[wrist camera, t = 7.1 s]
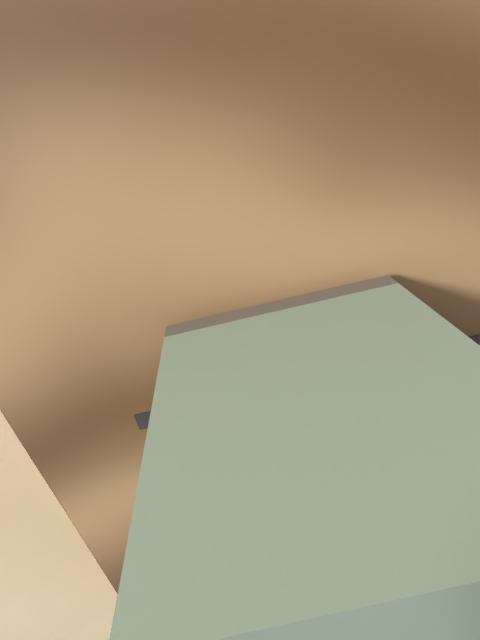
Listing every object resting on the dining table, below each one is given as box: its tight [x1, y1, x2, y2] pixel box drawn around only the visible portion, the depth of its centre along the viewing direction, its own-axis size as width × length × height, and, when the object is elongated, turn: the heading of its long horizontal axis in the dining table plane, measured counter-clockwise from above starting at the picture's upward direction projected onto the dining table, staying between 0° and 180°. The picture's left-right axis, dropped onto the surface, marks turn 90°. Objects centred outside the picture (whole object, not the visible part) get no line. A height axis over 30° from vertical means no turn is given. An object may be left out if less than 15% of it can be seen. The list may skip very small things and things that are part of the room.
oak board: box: [0, 0, 480, 594], centre depth 11 cm, size 20×14×2 cm
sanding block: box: [110, 275, 480, 640], centre depth 8 cm, size 8×5×6 cm, turn 12°
